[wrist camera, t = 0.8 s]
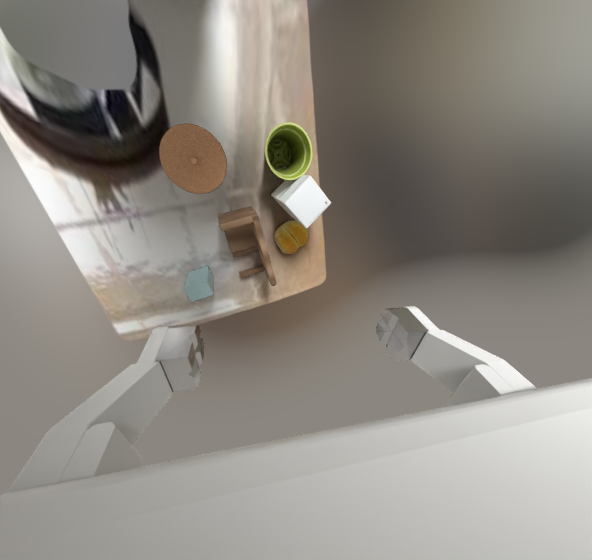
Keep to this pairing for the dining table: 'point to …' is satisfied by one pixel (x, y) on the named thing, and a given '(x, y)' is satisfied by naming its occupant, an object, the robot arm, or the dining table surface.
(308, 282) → the dining table surface
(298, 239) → the bread roll
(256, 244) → the carcass
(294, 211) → the supplement box
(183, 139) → the lidded jar
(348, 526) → the robot arm
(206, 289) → the pale teal box
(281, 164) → the plant pot
